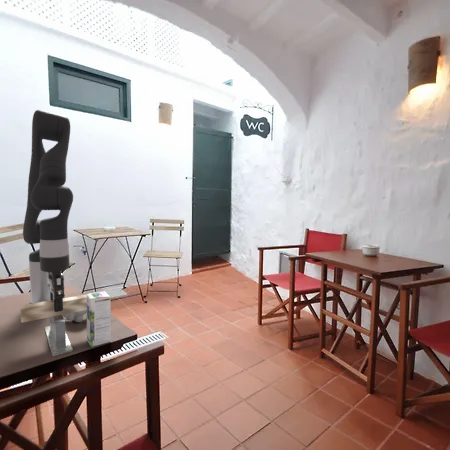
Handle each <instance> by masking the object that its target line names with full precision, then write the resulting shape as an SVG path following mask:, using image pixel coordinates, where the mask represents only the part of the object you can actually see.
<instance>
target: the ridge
mask: <svg viewBox="0 0 450 450" xmlns="http://www.w3.org/2000/svg"><path fill="white" fill-rule="evenodd" d="M44 331H45V334H46V338H47V342H48V345H49V348H50V351H51V356H52V357H56V356H59V355H62V354H67V353H71V352H73V351H74V348H73V346H72V345H71V342H70V341H71V340H70V339H69V337H68V334H67V332H66V319H65V317H64V316H63V315H58V316H53V317H49V325H48V326H45V327H44Z"/></svg>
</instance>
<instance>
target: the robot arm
mask: <svg viewBox="0 0 450 450" xmlns="http://www.w3.org/2000/svg"><path fill="white" fill-rule="evenodd" d="M32 115H33V116H32V121H31V122H32V123H31V155H30V156H31V157H30V165H29V173H28V174H29V175H28V184H27V201H26V211H25V215H24V221H23V227H22V237H23V241H24V242H25V243H26V244H29V245H36V244H39V249H36V250H34V251H32V252H30V253H29V255H28V263H29V264H28V266H29V267H28V268H29V285H30V286H29V287H30V304H33V303H39V302H45V301H51V300H54V311H55V312H59V311H62V310H63V298H66V297H65V276H64V275H63V273H62V272H63V271H66V270H68V269H69V268H70V245H69V239H68V238H69V237H68V223H69V222H68V220H69V215H70V212H71V208H72V204H73V201H74V193H73V191H72V190H71V188H70V187H68V186H64V185H65V184H66V182H67V181H66V180H67V158H68V157H67V156H68V152H69V145H70V135H71V122H70V119H69V118H68V117H67V116H65V115H61V114H58V113H54V112H52V111H51V112H50V111H46V110H42V109H36V110H35V111H34V112H33V114H32ZM43 140H46V141H51V142H56V144H55V145H53V147H51V148H50V149H48V150H47V151H46V149H45V147H44V143H43ZM42 211H59V213H58V214H57V215H56V216H53V217H48V218H44V219H39V216H40V214H41V213H42ZM59 293H60V294H59Z"/></svg>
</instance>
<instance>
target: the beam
mask: <svg viewBox="0 0 450 450" xmlns="http://www.w3.org/2000/svg"><path fill="white" fill-rule="evenodd" d="M87 294H88V293H87ZM87 294H81V295H75V296H69V297H64V298H63V310H62V311H59V312H55V311H54V300H51V301H45V302H39V303H33V304H32V303H28V304H21V305H20V307H19V308H20V323H27V322H32V321H36V320H37V321H39V320H42V319H47V318H50V317H53V316H58V315H63V314H68V313H73V312H78V311H83V310H87Z"/></svg>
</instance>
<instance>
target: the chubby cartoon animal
mask: <svg viewBox="0 0 450 450" xmlns="http://www.w3.org/2000/svg"><path fill="white" fill-rule="evenodd" d="M85 314H86V315H87V310H83V311H78V312H73V313H68V314H63V318H64V319H65V321H71V322H72V321H74V322H76V323H82V321H83V319H84V316H85Z"/></svg>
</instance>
